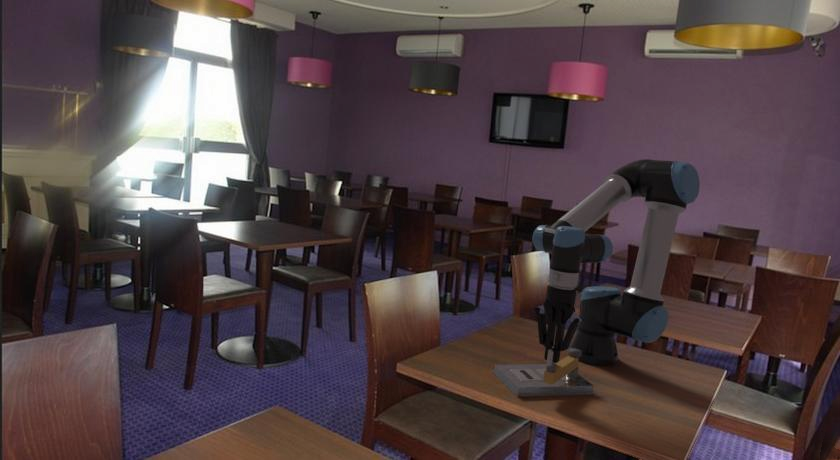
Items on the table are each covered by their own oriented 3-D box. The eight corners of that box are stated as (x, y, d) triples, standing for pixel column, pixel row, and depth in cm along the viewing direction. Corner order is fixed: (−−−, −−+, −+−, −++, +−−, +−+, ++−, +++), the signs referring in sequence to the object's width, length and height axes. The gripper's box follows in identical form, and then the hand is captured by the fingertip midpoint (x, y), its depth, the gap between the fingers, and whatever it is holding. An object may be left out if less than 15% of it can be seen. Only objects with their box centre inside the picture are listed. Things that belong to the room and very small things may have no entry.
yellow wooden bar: (569, 362, 170) (571, 346, 169) (581, 366, 168) (583, 350, 167) (540, 381, 154) (542, 364, 153) (554, 385, 152) (556, 368, 151)
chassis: (563, 372, 176) (565, 357, 176) (592, 394, 161) (594, 378, 160) (493, 373, 170) (495, 357, 170) (517, 396, 155) (519, 379, 154)
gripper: (533, 282, 157) (521, 368, 160) (579, 293, 149) (565, 384, 152) (546, 279, 162) (535, 362, 166) (591, 290, 154) (578, 377, 158)
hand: (549, 372), depth 159 cm, fingers closed
